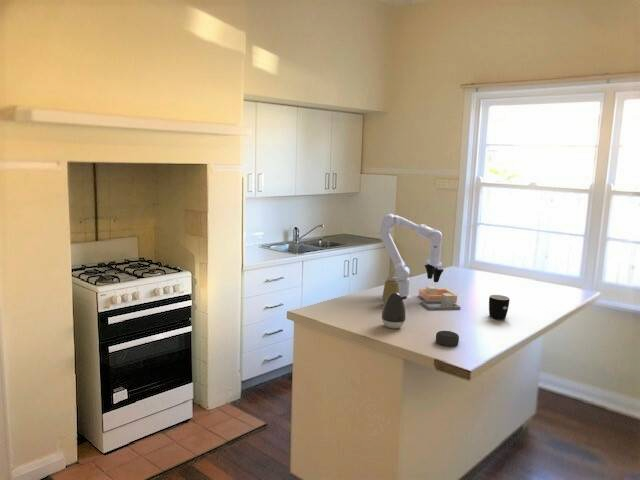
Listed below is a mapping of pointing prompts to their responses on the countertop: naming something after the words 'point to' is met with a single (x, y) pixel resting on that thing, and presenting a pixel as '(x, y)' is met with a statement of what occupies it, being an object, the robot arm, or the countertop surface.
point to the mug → (498, 306)
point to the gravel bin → (435, 297)
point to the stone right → (447, 300)
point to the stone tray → (438, 305)
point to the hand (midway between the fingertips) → (432, 280)
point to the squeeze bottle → (390, 286)
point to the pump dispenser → (394, 311)
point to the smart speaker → (447, 338)
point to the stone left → (431, 290)
